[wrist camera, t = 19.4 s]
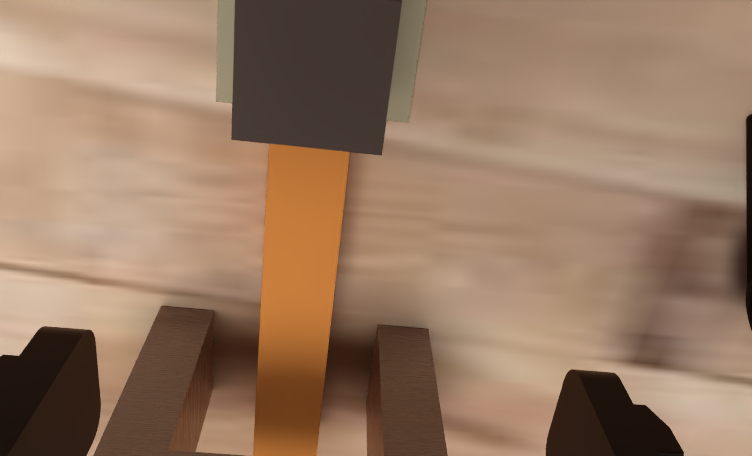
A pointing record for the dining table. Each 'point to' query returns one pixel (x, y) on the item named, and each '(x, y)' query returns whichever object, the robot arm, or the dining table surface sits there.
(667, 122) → the dining table surface
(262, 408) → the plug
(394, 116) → the pad
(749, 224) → the digital camera
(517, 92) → the dining table surface
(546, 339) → the dining table surface
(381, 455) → the housing
